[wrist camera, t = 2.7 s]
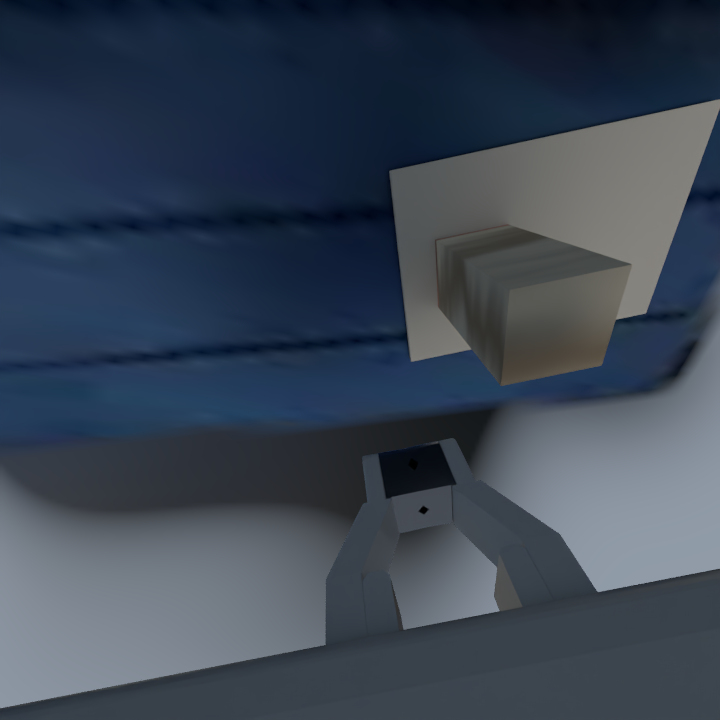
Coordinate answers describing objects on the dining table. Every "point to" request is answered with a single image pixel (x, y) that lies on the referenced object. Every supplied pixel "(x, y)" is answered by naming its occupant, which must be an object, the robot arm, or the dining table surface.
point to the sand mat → (552, 205)
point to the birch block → (529, 300)
